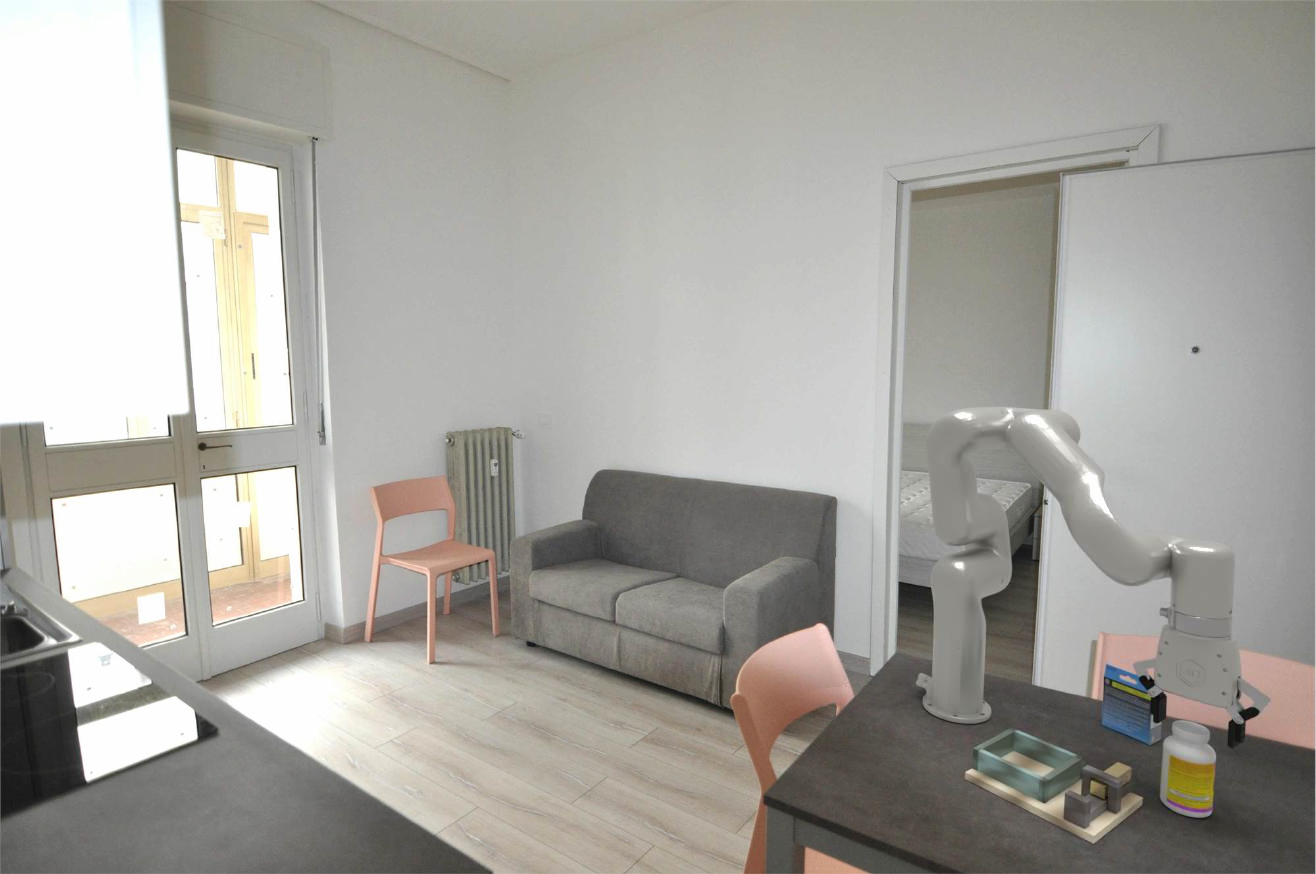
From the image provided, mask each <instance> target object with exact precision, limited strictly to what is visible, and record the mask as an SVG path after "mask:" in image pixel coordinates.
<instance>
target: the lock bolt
mask: <svg viewBox="0 0 1316 874" xmlns="http://www.w3.org/2000/svg"><path fill="white" fill-rule="evenodd" d="M1103 772H1105V773H1108V774H1110V775H1113V776H1115V777H1117V778H1120V779H1122V780H1123V783H1122V786H1123V785H1124V784H1126V783H1127V782H1130V781H1131V780H1132V767H1131V766H1129V765H1126V764H1123V763H1121V762H1119V761H1117V762H1116V763H1114V764H1112V765H1111V766H1110V767H1108V768H1107V769H1105V770H1104V771H1103ZM1108 790H1109V785H1108V784H1106V783H1104V782H1102V781H1099V780H1097V779H1095V778H1094V779H1092V780H1091V787H1090V793H1091V794H1094V795H1096V796H1098V797H1100V798H1103V799H1105V798H1107V797H1108Z"/></svg>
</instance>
